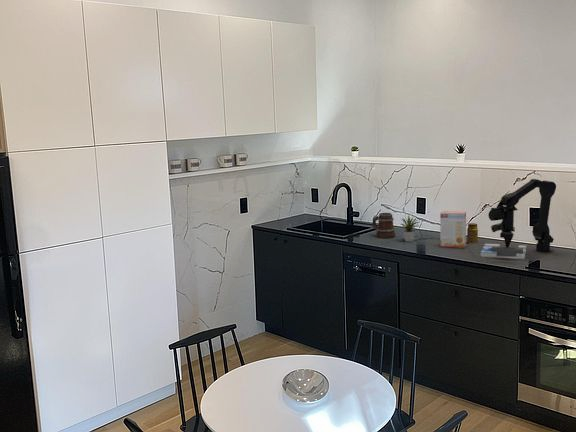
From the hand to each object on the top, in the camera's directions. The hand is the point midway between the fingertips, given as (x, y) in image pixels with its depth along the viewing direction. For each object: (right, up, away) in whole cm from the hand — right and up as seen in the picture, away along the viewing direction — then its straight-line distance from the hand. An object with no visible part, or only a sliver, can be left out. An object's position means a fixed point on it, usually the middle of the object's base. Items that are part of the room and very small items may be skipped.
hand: (507, 247), depth 322 cm
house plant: (-44, +1, +47) cm, 64 cm away
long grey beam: (0, -4, +1) cm, 4 cm away
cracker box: (-21, -1, +29) cm, 36 cm away
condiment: (-9, 0, +34) cm, 35 cm away
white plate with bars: (0, -4, +6) cm, 8 cm away
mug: (-57, +4, +64) cm, 86 cm away
